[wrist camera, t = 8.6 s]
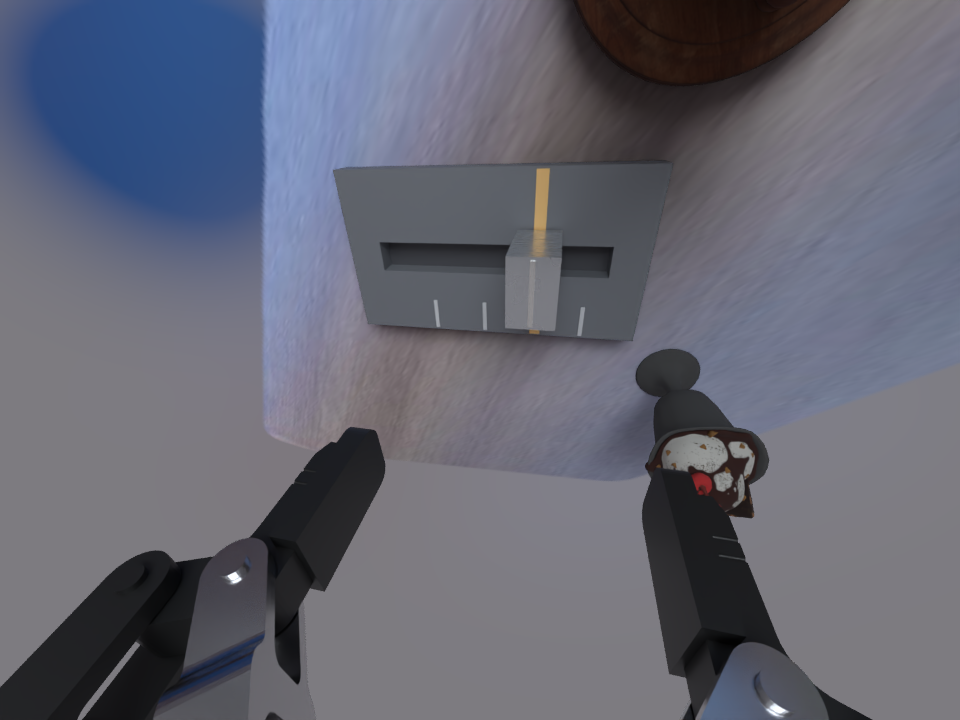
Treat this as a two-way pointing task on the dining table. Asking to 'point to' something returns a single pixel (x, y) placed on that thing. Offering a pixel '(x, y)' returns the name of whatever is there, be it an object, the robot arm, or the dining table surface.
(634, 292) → the slider plate with stripes
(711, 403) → the sundae
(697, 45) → the scroll
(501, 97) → the dining table surface
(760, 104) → the dining table surface
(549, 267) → the fader tab
